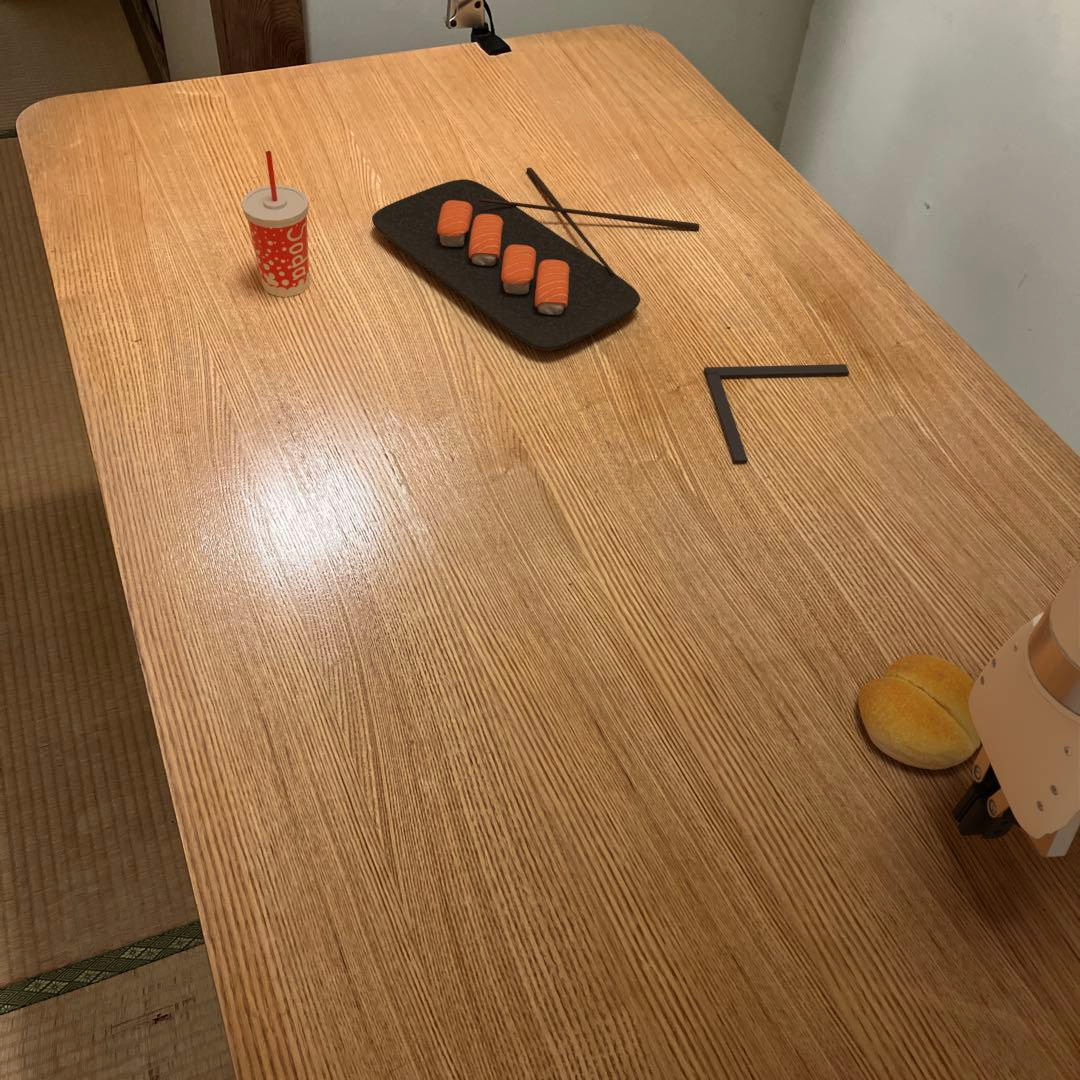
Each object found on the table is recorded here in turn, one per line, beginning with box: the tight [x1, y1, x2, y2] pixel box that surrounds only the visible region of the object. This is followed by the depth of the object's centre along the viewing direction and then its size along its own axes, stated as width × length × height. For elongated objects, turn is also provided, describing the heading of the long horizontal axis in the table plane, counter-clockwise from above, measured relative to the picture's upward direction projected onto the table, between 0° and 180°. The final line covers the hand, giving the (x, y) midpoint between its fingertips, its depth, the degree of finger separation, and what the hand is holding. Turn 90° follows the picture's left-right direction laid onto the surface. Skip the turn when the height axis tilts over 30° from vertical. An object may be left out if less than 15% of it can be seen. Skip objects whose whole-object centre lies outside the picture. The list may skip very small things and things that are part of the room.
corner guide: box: [703, 363, 850, 465], centre depth 99 cm, size 14×13×1 cm
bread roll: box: [857, 653, 980, 771], centre depth 76 cm, size 8×9×4 cm
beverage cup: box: [241, 150, 310, 298], centre depth 102 cm, size 6×6×14 cm
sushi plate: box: [371, 167, 700, 351], centre depth 113 cm, size 29×30×4 cm
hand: (977, 823), depth 70 cm, fingers closed
